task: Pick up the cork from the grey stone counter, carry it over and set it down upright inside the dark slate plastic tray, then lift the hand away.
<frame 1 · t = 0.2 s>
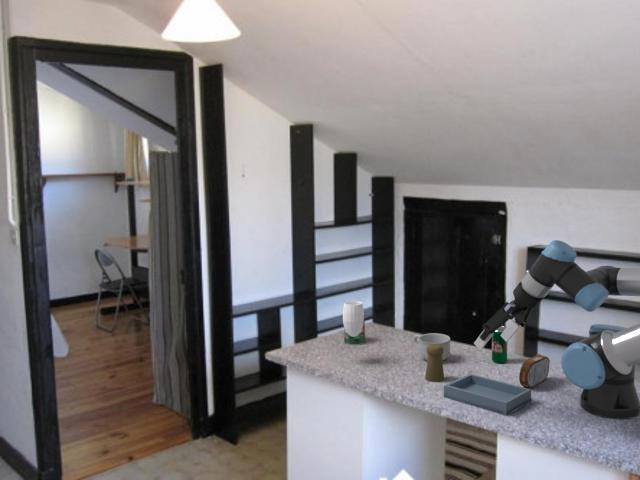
hand: (491, 342, 187), 16 cm above the counter, tool tilted 35°, fingers open, 13 cm apart
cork: (434, 379, 203), on the counter
tin: (534, 384, 198), on the counter
soda can: (499, 362, 219), on the counter
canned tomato: (354, 342, 245), on the counter
teacup: (430, 359, 224), on the counter
tray: (486, 399, 186), on the counter
cup: (353, 362, 221), on the counter
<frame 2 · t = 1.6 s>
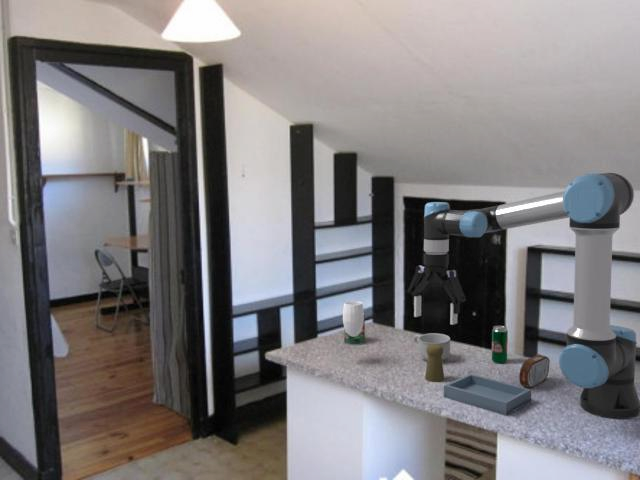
hand: (435, 320, 201), 19 cm above the counter, tool pointing down, fingers open, 13 cm apart
nothing on the counter moved.
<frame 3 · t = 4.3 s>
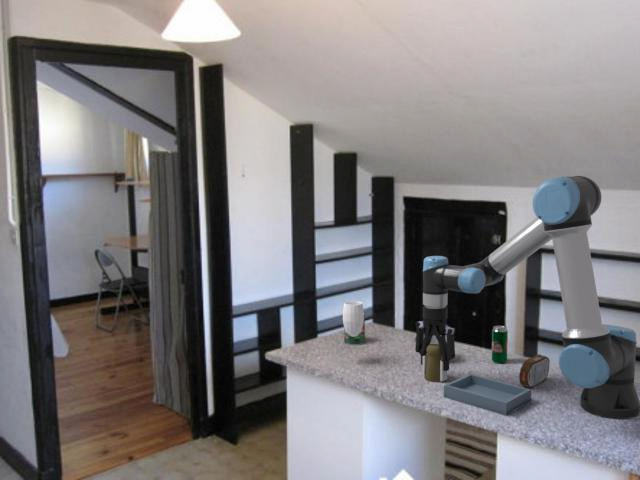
hand: (434, 377, 203), 0 cm above the counter, tool pointing down, fingers closed on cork, 6 cm apart
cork: (434, 379, 203), on the counter, touching gripper
everything else where it was.
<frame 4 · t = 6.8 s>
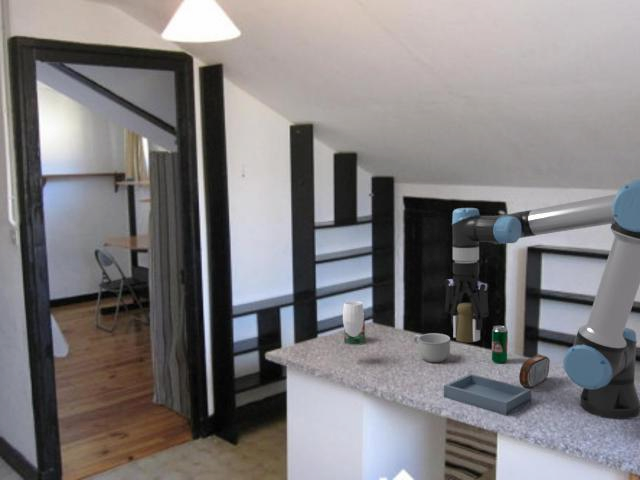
hand: (466, 338, 191), 16 cm above the counter, tool pointing down, fingers closed on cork, 6 cm apart
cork: (466, 340, 191), point 15 cm above the counter, touching gripper
everything else where it was.
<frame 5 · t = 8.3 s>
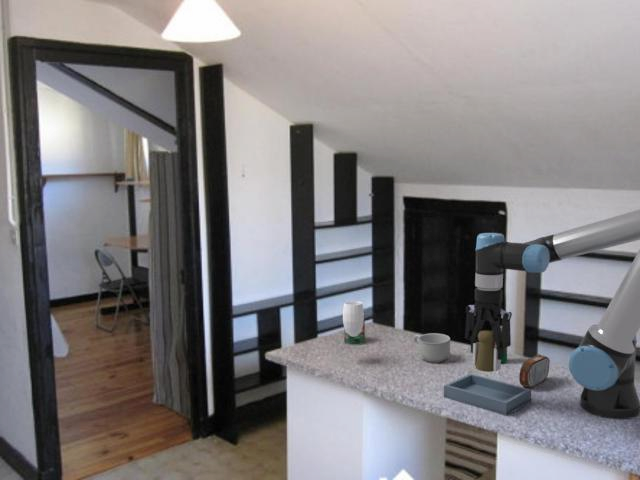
hand: (486, 366, 185), 10 cm above the counter, tool pointing down, fingers closed on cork, 6 cm apart
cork: (486, 368, 185), point 9 cm above the counter, touching gripper
everything else where it was.
when the fingers open (2 cm above the counter, at t = 9.6 s): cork stays where it is, resting on tray.
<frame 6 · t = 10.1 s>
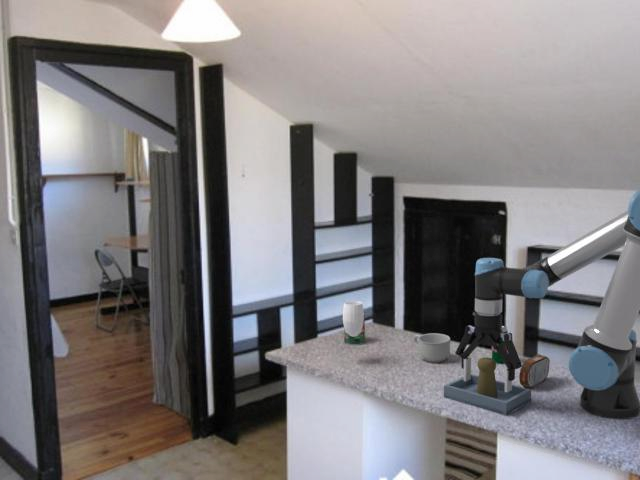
hand: (487, 385, 185), 4 cm above the counter, tool pointing down, fingers open, 13 cm apart
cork: (486, 396, 186), point 1 cm above the counter, touching tray
everything else where it was.
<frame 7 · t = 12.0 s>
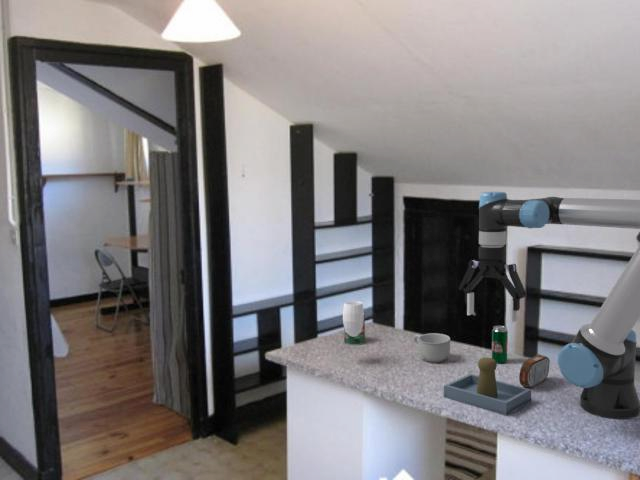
hand: (491, 318, 188), 23 cm above the counter, tool pointing down, fingers open, 13 cm apart
nothing on the counter moved.
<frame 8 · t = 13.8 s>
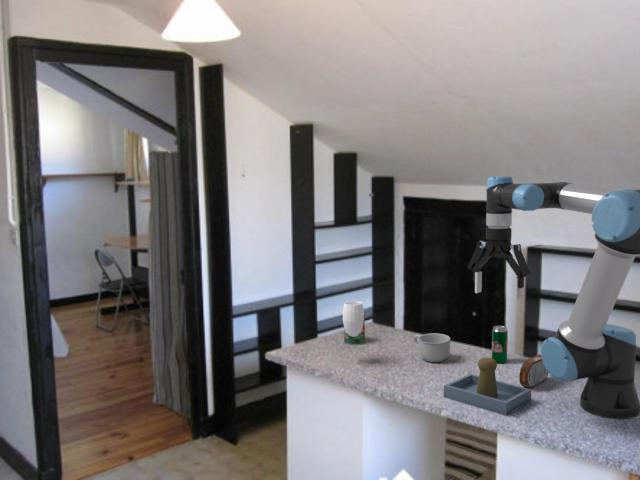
hand: (497, 295, 199), 27 cm above the counter, tool pointing down, fingers open, 13 cm apart
nothing on the counter moved.
at the end: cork inside the target area on the tray (0.0 cm from its centre), point 0.8 cm above the tray's base; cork tilted 0°; the gripper is holding nothing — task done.
